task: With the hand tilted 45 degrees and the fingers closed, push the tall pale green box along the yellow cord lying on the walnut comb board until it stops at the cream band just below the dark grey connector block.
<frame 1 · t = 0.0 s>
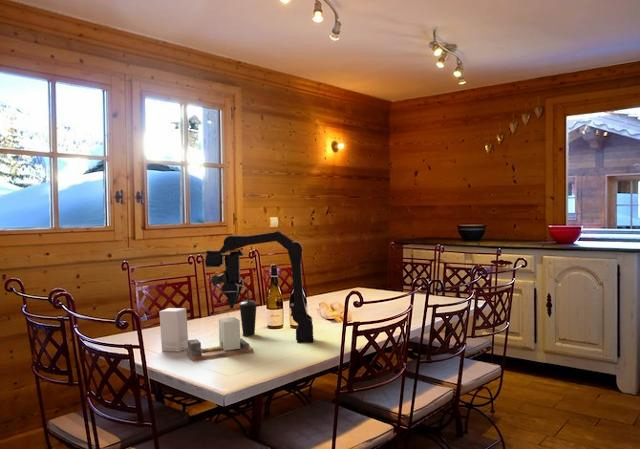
hand: (233, 306, 207), 15 cm above the table, tool pointing down, fingers open, 9 cm apart
skincare box: (174, 350, 199), on the table
comb board: (219, 353, 193), on the table
tall pale green box: (229, 333, 194), point 7 cm above the table, slide at 0.0 cm
drinking cup: (248, 335, 220), on the table
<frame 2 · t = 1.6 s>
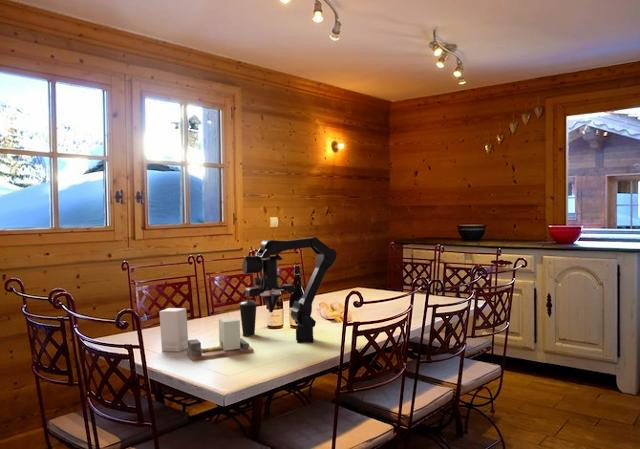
hand: (271, 312, 201), 13 cm above the table, tool pointing down, fingers closed
nothing on the table moved.
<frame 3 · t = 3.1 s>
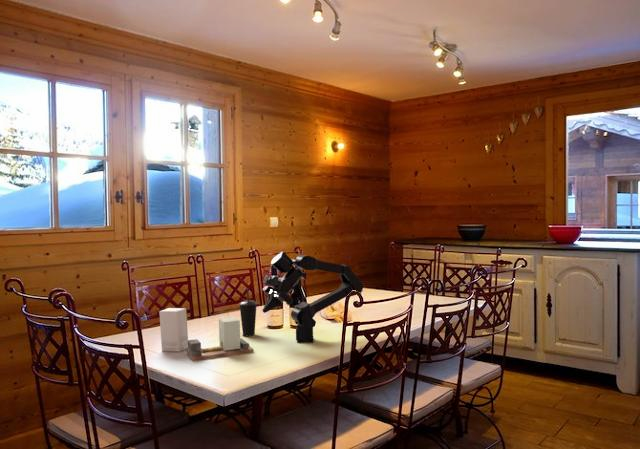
hand: (263, 312, 200), 13 cm above the table, tool tilted 45°, fingers closed
nothing on the table moved.
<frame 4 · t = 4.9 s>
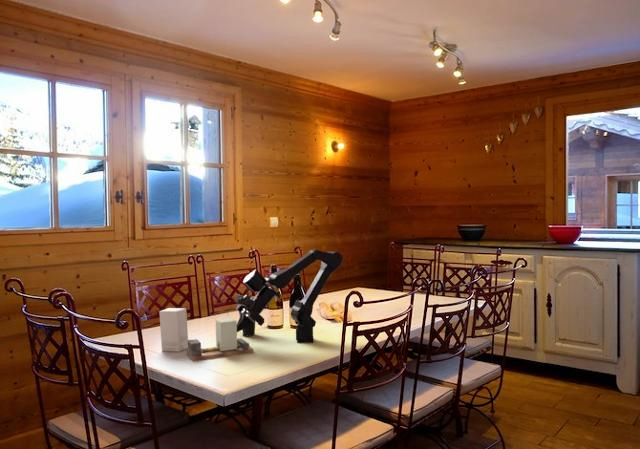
hand: (234, 331, 195), 7 cm above the table, tool tilted 45°, fingers closed, pressing on tall pale green box
tall pale green box: (226, 333, 194), point 7 cm above the table, slide at 1.2 cm, touching gripper
everything else where it was.
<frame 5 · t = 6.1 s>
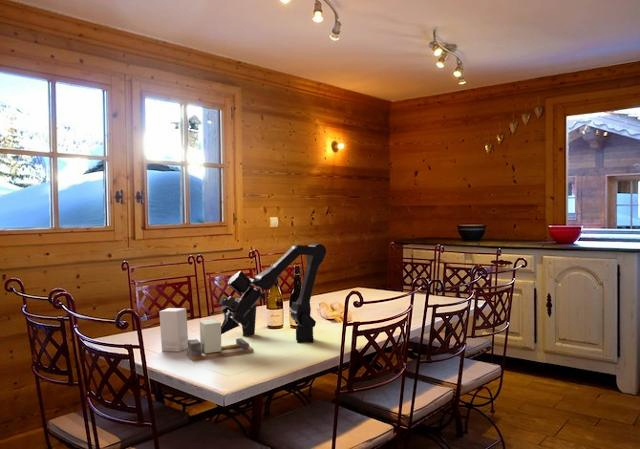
hand: (219, 333, 193), 7 cm above the table, tool tilted 45°, fingers closed, pressing on tall pale green box
tall pale green box: (210, 335, 191), point 7 cm above the table, slide at 7.1 cm, touching gripper
everything else where it was.
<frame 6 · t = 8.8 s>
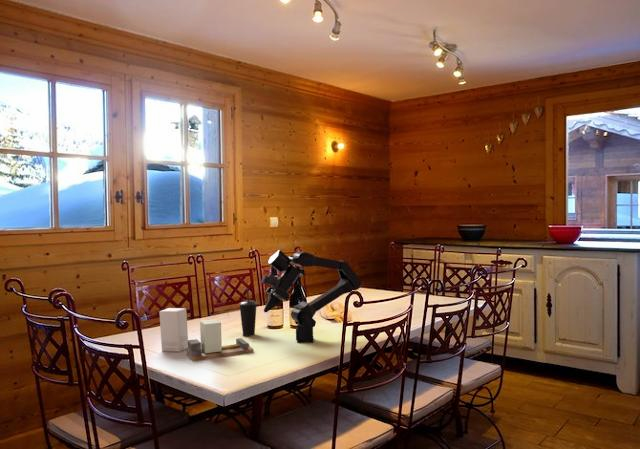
hand: (264, 311, 200), 13 cm above the table, tool tilted 40°, fingers closed
tall pale green box: (210, 335, 191), point 7 cm above the table, slide at 7.0 cm
everything else where it was.
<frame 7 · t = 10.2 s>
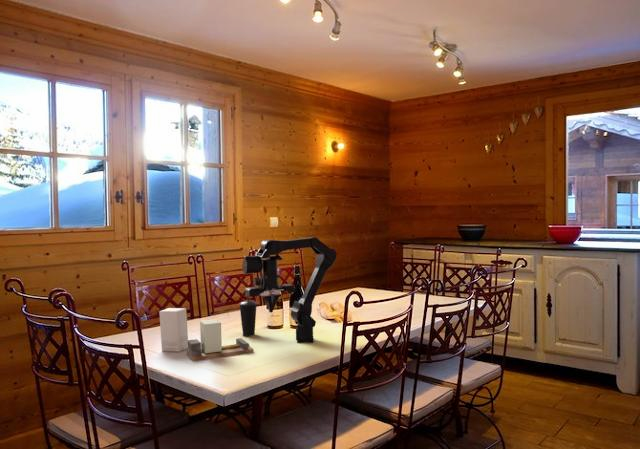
hand: (270, 312, 201), 13 cm above the table, tool pointing down, fingers closed
nothing on the table moved.
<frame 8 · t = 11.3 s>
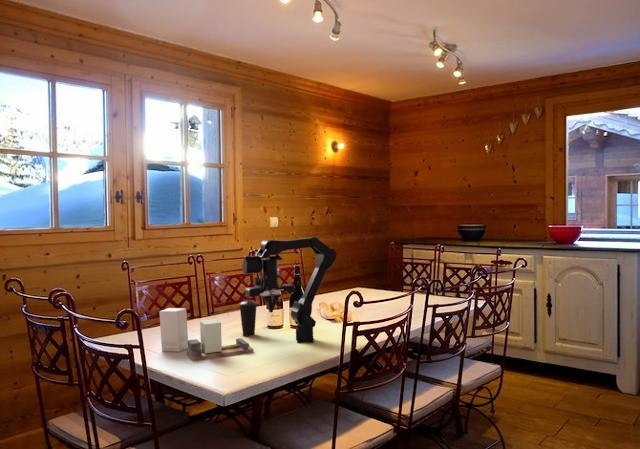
hand: (270, 312, 201), 13 cm above the table, tool pointing down, fingers closed
nothing on the table moved.
at the end: tall pale green box slide at 7.0 cm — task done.
